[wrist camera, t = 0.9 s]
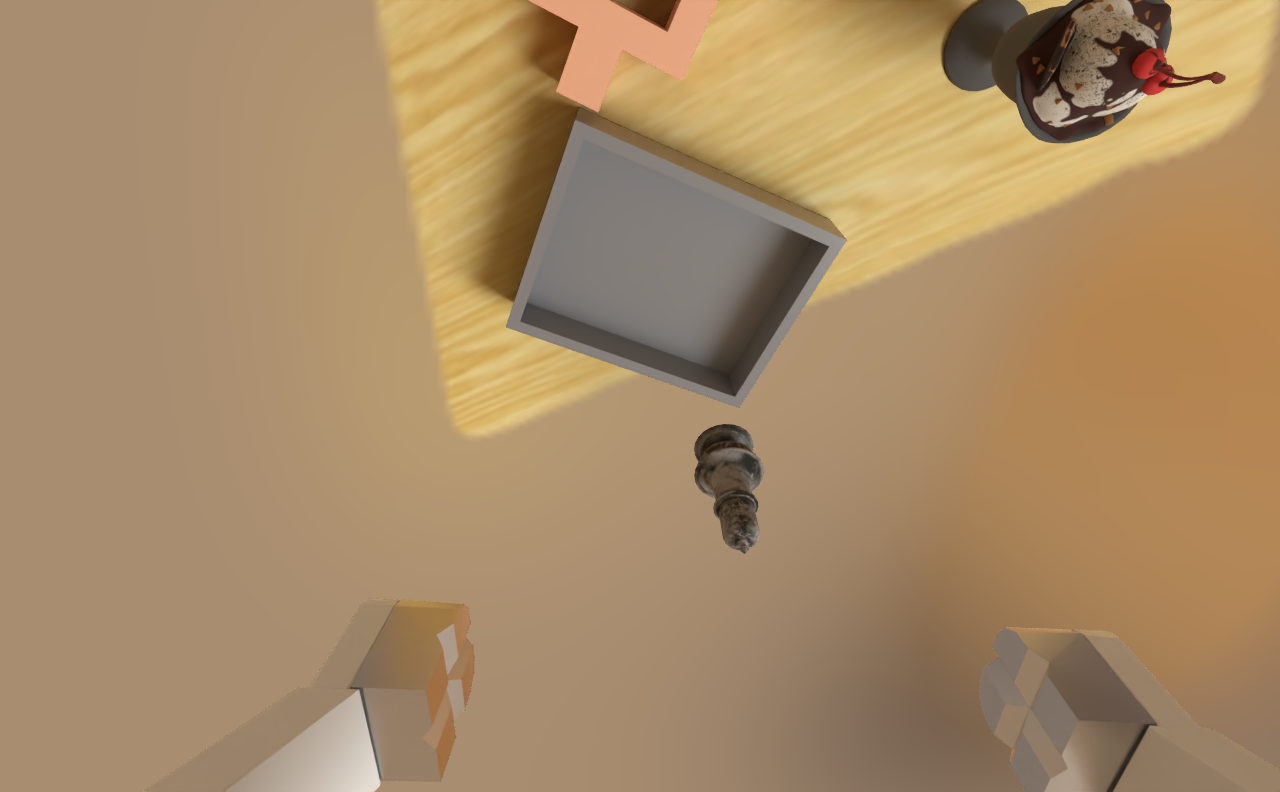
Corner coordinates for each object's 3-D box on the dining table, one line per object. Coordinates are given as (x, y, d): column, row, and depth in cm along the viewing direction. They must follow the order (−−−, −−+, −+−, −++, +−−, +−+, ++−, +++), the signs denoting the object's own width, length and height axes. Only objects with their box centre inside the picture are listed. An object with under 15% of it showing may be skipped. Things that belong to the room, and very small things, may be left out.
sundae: (1060, 53, 36) (1279, 96, 24) (954, 128, 39) (1104, 201, 27) (1024, -53, 33) (1253, -66, 21) (911, 35, 36) (1058, 70, 24)
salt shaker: (683, 466, 55) (695, 573, 46) (701, 416, 52) (718, 520, 42) (744, 476, 56) (769, 583, 46) (765, 427, 53) (797, 531, 43)
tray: (579, 107, 38) (575, 119, 35) (830, 220, 42) (846, 240, 39) (514, 302, 45) (505, 327, 42) (732, 380, 50) (739, 407, 47)
